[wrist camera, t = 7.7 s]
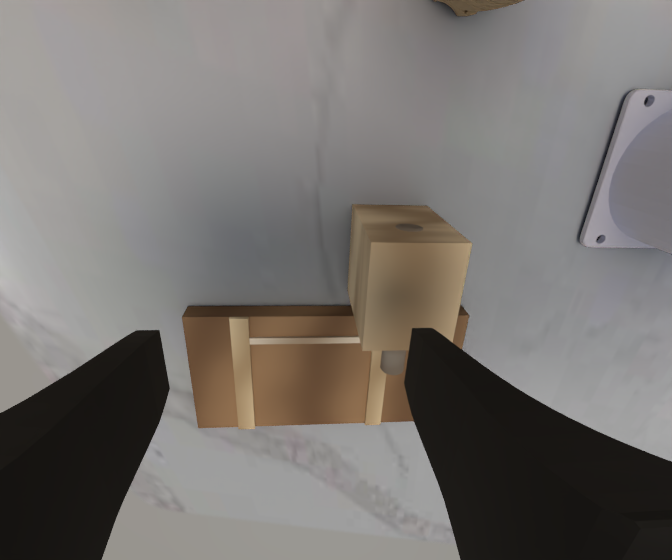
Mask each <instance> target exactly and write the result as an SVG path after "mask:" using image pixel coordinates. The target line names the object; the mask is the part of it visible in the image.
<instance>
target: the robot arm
mask: <svg viewBox="0 0 672 560" xmlns="http://www.w3.org/2000/svg"><path fill="white" fill-rule="evenodd" d="M646 97H648V102H647V103H646V105H644V100H645V98H646ZM598 236H600V238H599V240H597V241H596V239H597V237H598ZM580 243H581V244H582V245H584V246H586V247H599V248H658V249H660V250H662V251H665V252H667V253H670V254H672V90H655V89H635V90H633V91H631V92H630V93H629V94H628V95H627V96H626V98H625V100H624V103H623V106H622V109H621V113H620V116H619V119H618V122H617V125H616V128H615V131H614V134H613V137H612V140H611V143H610V146H609V149H608V153H607V156H606V159H605V162H604V165H603V168H602V171H601V174H600V177H599V180H598V183H597V186H596V189H595V193H594V196H593V199H592V202H591V205H590V208H589V211H588V214H587V217H586V220H585V223H584V226H583V229H582V233H581V236H580ZM404 385H405V390H406V394H407V399H408V403H409V406H410V410H411V414H412V417H413V419H414V422H415V425H416V427H417V430H418V433H419V435H420V438H421V440H422V443H423V446H424V448H425V451H426V453H427V456H428V458H429V461H430V463H431V466H432V468H433V471H434V474H435V476H436V479H437V481H438V484H439V487H440V490H441V492H442V495H443V498H444V501H445V505H446V508H447V512H448V515H449V519H450V522H451V526H452V529H453V533H454V537H455V540H456V544H457V548H458V552H459V555H460V559H461V560H672V462H671V461H668V460H665V459H663V458H660V457H657V456H655V455H652V454H650V453H647V452H645V451H642V450H640V449H637V448H635V447H632V446H630V445H628V444H625V443H623V442H620V441H618V440H616V439H613V438H611V437H609V436H606V435H604V434H602V433H600V432H598V431H595V430H593V429H591V428H589V427H587V426H585V425H583V424H581V423H579V422H577V421H575V420H573V419H570V418H568V417H567V416H565V415H563V414H561V413H559V412H557V411H555V410H553V409H551V408H550V407H548V406H546V405H544V404H543V403H541V402H539V401H537V400H535V399H534V398H532V397H530V396H528V395H527V394H525V393H524V392H522V391H520V390H519V389H517V388H515V387H514V386H512V385H511V384H509V383H508V382H506V381H505V380H503V379H502V378H500V377H499V376H497V375H496V374H494V373H493V372H492V371H490V370H489V369H487V368H486V367H484V366H483V365H482V364H480V363H479V362H478V361H476V360H475V359H474V358H472V357H471V356H470V355H468V354H467V353H466V352H464V351H463V350H462V349H460V348H459V347H458V346H456V345H455V344H454V343H452V342H451V341H450V340H449V339H447V338H446V337H445V336H443V335H442V334H441V333H439V332H438V331H436V330H435V329H433V328H412V332H411V339H410V346H409V353H408V359H407V366H406V373H405V380H404ZM169 389H170V388H169V382H168V377H167V371H166V365H165V360H164V354H163V348H162V343H161V337H160V332H159V330H137V331H135V332H133V333H131V334H129V335H128V336H126V337H124V338H123V339H121V340H120V341H118V342H117V343H115V344H114V345H112V346H111V347H109V348H108V349H106V350H105V351H103V352H102V353H100V354H98V355H97V356H95V357H94V358H92V359H91V360H89V361H88V362H86V363H85V364H83V365H82V366H80V367H79V368H77V369H76V370H74V371H72V372H71V373H69V374H68V375H66V376H64V377H63V378H61V379H59V380H58V381H56V382H54V383H53V384H51V385H49V386H48V387H46V388H45V389H43V390H41V391H39V392H38V393H36V394H34V395H33V396H31V397H29V398H28V399H26V400H24V401H22V402H21V403H19V404H17V405H15V406H13V407H11V408H10V409H8V410H6V411H4V412H2V413H0V560H101V559H102V557H103V554H104V551H105V548H106V545H107V542H108V539H109V537H110V534H111V531H112V528H113V525H114V522H115V520H116V517H117V515H118V512H119V510H120V507H121V505H122V502H123V500H124V498H125V496H126V494H127V492H128V489H129V487H130V485H131V483H132V481H133V479H134V476H135V474H136V472H137V470H138V468H139V466H140V464H141V461H142V459H143V457H144V455H145V453H146V451H147V448H148V446H149V444H150V442H151V440H152V437H153V435H154V433H155V431H156V429H157V426H158V424H159V422H160V419H161V416H162V413H163V409H164V406H165V403H166V399H167V396H168V392H169Z"/></svg>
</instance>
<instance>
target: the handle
mask: <svg viewBox="0 0 672 560" xmlns="http://www.w3.org/2000/svg"><path fill="white" fill-rule="evenodd" d="M433 1H435V2H436V1H440V2H443V3H445V4H447V5H448V6H450V7H451V8H452V9H453V10H454V11H455V14H456V15H457V16H469V15H473V14H476V13H477V12H478V11H487V10H493V9H498V8H502V7H506V6H509V5H513V4H516V3H519V2H521V1H524V0H433Z"/></svg>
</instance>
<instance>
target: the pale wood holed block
mask: <svg viewBox="0 0 672 560" xmlns="http://www.w3.org/2000/svg"><path fill="white" fill-rule="evenodd" d="M471 247H472V243H471V242H470V241H469V240H468V239H466V238H465V237H464V236H463V235H462V234H460V233H459V232H458V231H457V230H456V229H454V228H453V227H452V226H451V225H450V224H448V223H447V222H446V221H445V220H444V219H442V218H441V217H440V216H439V215H438V214H436V213H435V212H434V211H433V210H432V209H430V208H429V207H428V206H413V205H359V204H352V221H351V238H350V256H349V273H348V294H349V298H350V302H351V306H352V311H353V315H354V319H355V323H356V327H357V331H358V335H359V339H360V343H361V347H362V351H382V354H381V364H380V368H381V370H382V371H383V372H384V373H386V374H389V375H399V374H401V373H402V372H403V370H404V363H405V356H406V350H409V346H410V339H411V332H412V328H433V329H435V330H436V331H438V332H439V333H441V334H442V335H443V336H445V337H446V338H447V339H449V340H450V341H451V342H452V343H453V338H454V333H455V328H456V323H457V318H458V313H459V308H460V303H461V298H462V293H463V288H464V283H465V278H466V273H467V268H468V263H469V258H470V253H471Z"/></svg>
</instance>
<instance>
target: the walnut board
mask: <svg viewBox="0 0 672 560" xmlns="http://www.w3.org/2000/svg"><path fill="white" fill-rule="evenodd" d="M468 319H469V315H468V313H467V312H466V311H465V310H464V308H463V307H462V306H461V305H460V308H459V313H458V318H457V323H456V328H455V333H454V338H453V343H454V344H455V345H456V346H458V347H459V348H460V349H462V346H463V342H464V337H465V332H466V328H467V323H468ZM182 320H183V327H184V333H185V340H186V347H187V354H188V361H189V368H190V375H191V381H192V388H193V395H194V402H195V409H196V416H197V423H198V428H217V427H239V429H255V426H279V425H310V424H340V423H365V425H380V423H381V422H402V421H414V419H413V417H412V414H411V410H410V406H409V403H408V399H407V394H406V390H405V385H404V380H405V373H406V366H407V359H408V353H409V350H406V356H405V363H404V370H403V372H402V373H401V374H399V375H389V374H386V373H384V372H383V371H382V370H381V368H380V364H381V354H382V351H362V347H361V343H360V339H359V335H358V331H357V327H356V323H355V319H354V315H353V311H352V306H188V307H187V309H186V311H185V313H184V315H183V316H182Z"/></svg>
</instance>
